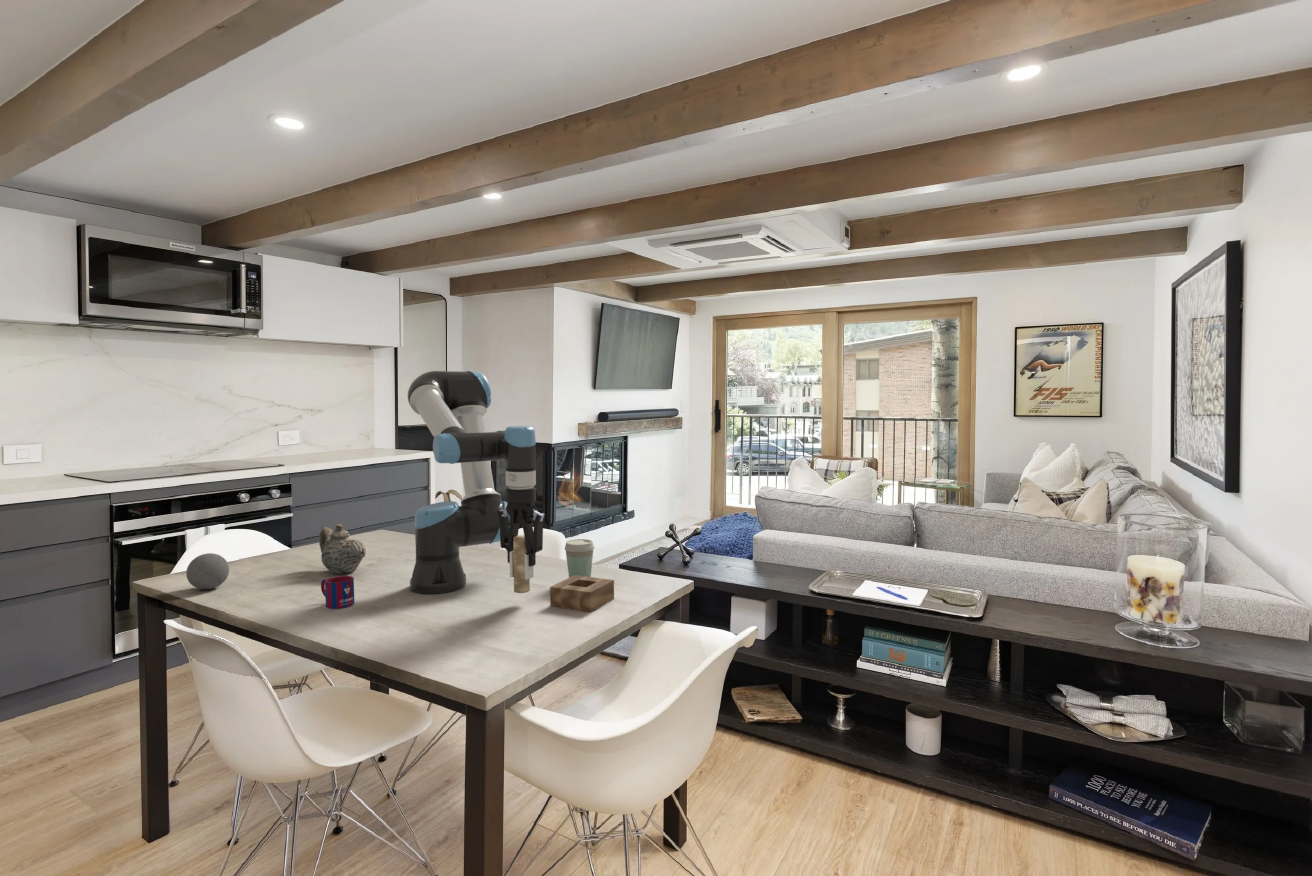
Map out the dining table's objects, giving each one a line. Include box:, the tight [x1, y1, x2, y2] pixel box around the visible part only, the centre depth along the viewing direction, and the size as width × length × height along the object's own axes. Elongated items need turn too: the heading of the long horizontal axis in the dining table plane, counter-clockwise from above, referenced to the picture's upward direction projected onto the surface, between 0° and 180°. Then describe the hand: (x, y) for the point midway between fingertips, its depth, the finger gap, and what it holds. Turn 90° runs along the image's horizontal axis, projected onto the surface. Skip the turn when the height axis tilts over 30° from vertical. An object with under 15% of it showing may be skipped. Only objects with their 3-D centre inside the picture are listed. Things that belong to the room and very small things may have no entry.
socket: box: [549, 575, 615, 613], centre depth 172 cm, size 12×12×5 cm
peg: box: [513, 534, 531, 594], centre depth 170 cm, size 4×4×14 cm
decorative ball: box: [186, 552, 230, 591], centre depth 186 cm, size 10×10×10 cm
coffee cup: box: [564, 538, 595, 578], centre depth 189 cm, size 9×9×12 cm
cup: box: [320, 575, 355, 610], centre depth 172 cm, size 7×10×7 cm
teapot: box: [318, 523, 367, 575], centre depth 203 cm, size 21×12×15 cm, turn 58°
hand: (521, 576), depth 170 cm, fingers closed on peg, 4 cm apart
